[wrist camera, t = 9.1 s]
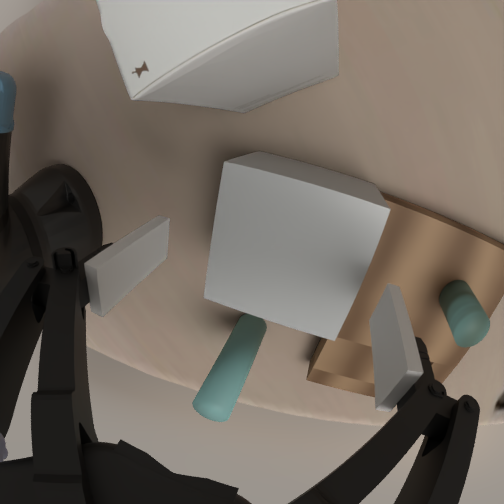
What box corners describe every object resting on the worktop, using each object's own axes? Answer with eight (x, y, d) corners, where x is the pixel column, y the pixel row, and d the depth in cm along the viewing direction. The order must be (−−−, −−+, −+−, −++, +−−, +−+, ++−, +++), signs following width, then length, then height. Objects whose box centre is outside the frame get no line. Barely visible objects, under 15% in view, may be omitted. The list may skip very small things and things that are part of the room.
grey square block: (238, 254, 28) (203, 297, 21) (259, 150, 24) (224, 161, 17) (338, 285, 26) (334, 341, 19) (374, 184, 22) (390, 209, 15)
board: (310, 361, 31) (298, 416, 24) (379, 191, 22) (397, 220, 15) (419, 387, 29) (425, 439, 22) (507, 246, 20) (547, 286, 13)
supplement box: (342, 77, 19) (346, 0, 6) (243, 115, 23) (126, 109, 10) (296, -7, 17) (240, -116, 4) (205, 33, 20) (83, -21, 7)
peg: (236, 330, 32) (191, 412, 22) (241, 309, 31) (193, 393, 20) (263, 340, 32) (226, 426, 21) (269, 319, 30) (231, 408, 20)
